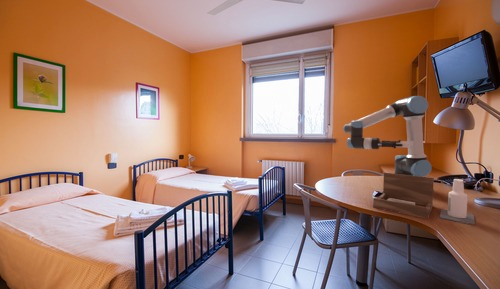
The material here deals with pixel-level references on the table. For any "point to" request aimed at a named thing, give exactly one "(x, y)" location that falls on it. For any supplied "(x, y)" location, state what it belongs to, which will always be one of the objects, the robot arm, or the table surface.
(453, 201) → the spray bottle
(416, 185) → the rack
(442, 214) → the mat
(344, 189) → the table surface
